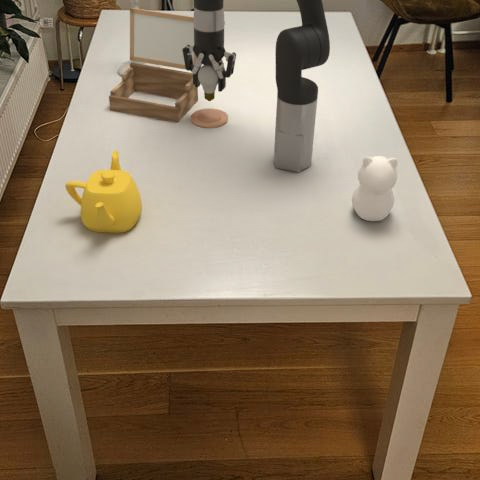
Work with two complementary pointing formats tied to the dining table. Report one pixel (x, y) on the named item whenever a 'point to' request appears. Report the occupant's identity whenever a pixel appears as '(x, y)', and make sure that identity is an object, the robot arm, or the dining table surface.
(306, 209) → the dining table surface
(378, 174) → the cat figurine
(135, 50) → the lid
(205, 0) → the robot arm
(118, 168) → the teapot
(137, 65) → the cold frame
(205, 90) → the light bulb
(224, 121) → the saucer
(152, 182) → the dining table surface
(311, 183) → the dining table surface
